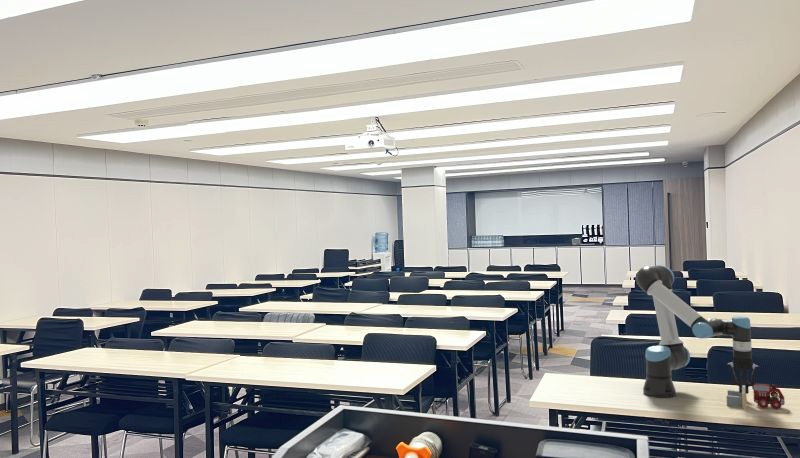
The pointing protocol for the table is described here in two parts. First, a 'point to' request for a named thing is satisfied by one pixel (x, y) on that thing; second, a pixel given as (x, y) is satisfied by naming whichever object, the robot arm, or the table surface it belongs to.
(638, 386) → the table surface
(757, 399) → the toy fire truck
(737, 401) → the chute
